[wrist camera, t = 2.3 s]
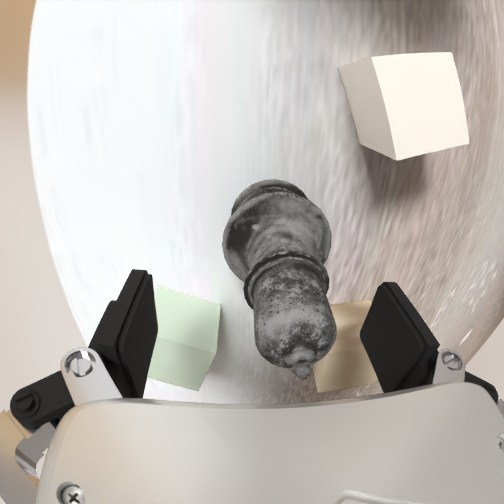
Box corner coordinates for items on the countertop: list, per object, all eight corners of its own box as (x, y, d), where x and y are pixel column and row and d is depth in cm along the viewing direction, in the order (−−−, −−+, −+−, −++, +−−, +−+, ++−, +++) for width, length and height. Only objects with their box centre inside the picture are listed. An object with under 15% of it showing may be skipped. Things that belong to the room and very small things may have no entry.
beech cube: (369, 299, 22) (391, 342, 18) (360, 340, 25) (376, 382, 20) (311, 306, 22) (324, 353, 18) (308, 347, 25) (317, 392, 20)
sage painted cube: (221, 303, 22) (216, 353, 17) (204, 344, 24) (198, 391, 20) (158, 284, 21) (140, 331, 17) (149, 328, 23) (134, 373, 19)
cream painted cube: (405, 58, 13) (451, 52, 9) (422, 129, 15) (469, 143, 11) (337, 67, 14) (371, 57, 9) (359, 143, 16) (396, 160, 12)
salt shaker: (322, 248, 20) (385, 399, 9) (239, 267, 20) (236, 429, 10) (309, 166, 17) (405, 279, 6) (214, 187, 17) (172, 330, 7)
